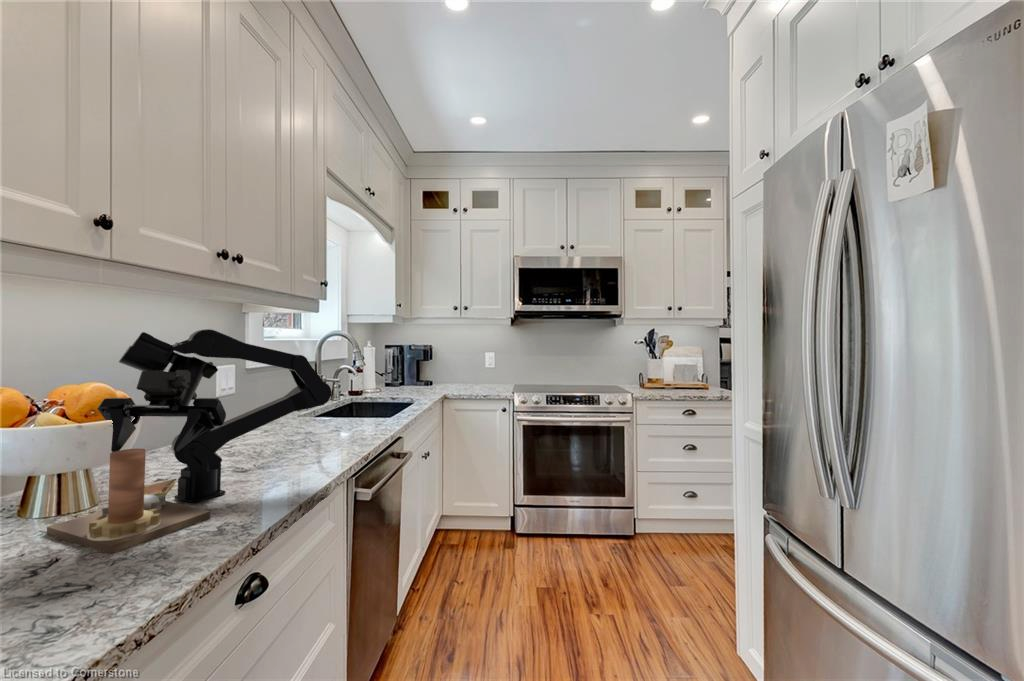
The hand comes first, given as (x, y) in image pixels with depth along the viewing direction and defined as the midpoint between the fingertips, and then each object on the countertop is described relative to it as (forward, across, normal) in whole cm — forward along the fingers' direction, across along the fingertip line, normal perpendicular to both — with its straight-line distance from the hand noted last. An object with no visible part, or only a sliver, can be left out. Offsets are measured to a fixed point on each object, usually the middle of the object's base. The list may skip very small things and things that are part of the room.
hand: (144, 451), depth 74 cm
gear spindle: (+11, 0, +6) cm, 12 cm away
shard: (-4, -9, +23) cm, 25 cm away
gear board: (+9, -2, +10) cm, 13 cm away
